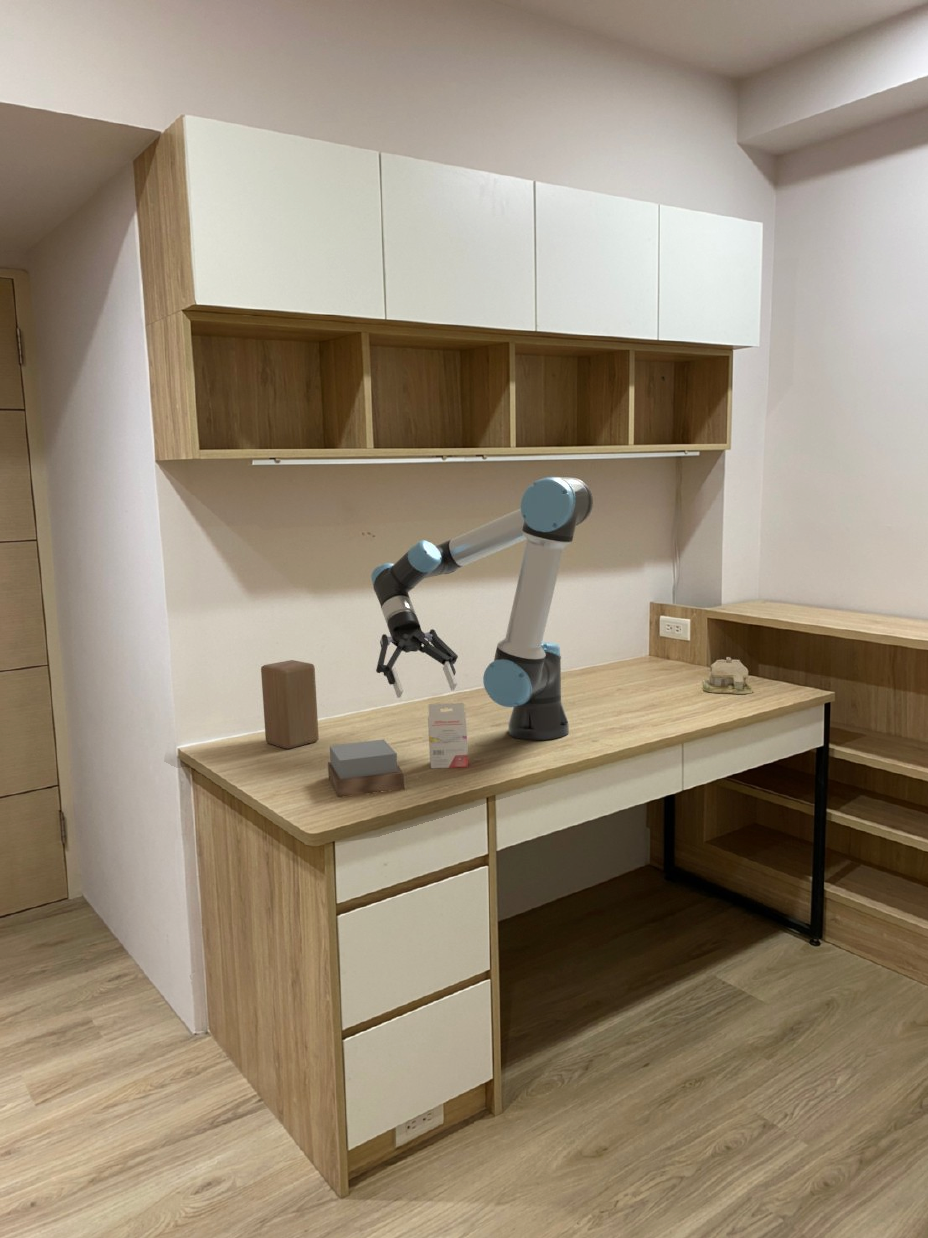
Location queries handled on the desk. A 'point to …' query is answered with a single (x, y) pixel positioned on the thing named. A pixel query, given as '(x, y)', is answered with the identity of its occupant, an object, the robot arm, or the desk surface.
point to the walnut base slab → (366, 783)
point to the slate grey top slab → (363, 759)
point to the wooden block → (289, 703)
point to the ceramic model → (727, 678)
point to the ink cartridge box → (447, 736)
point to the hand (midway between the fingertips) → (427, 690)
